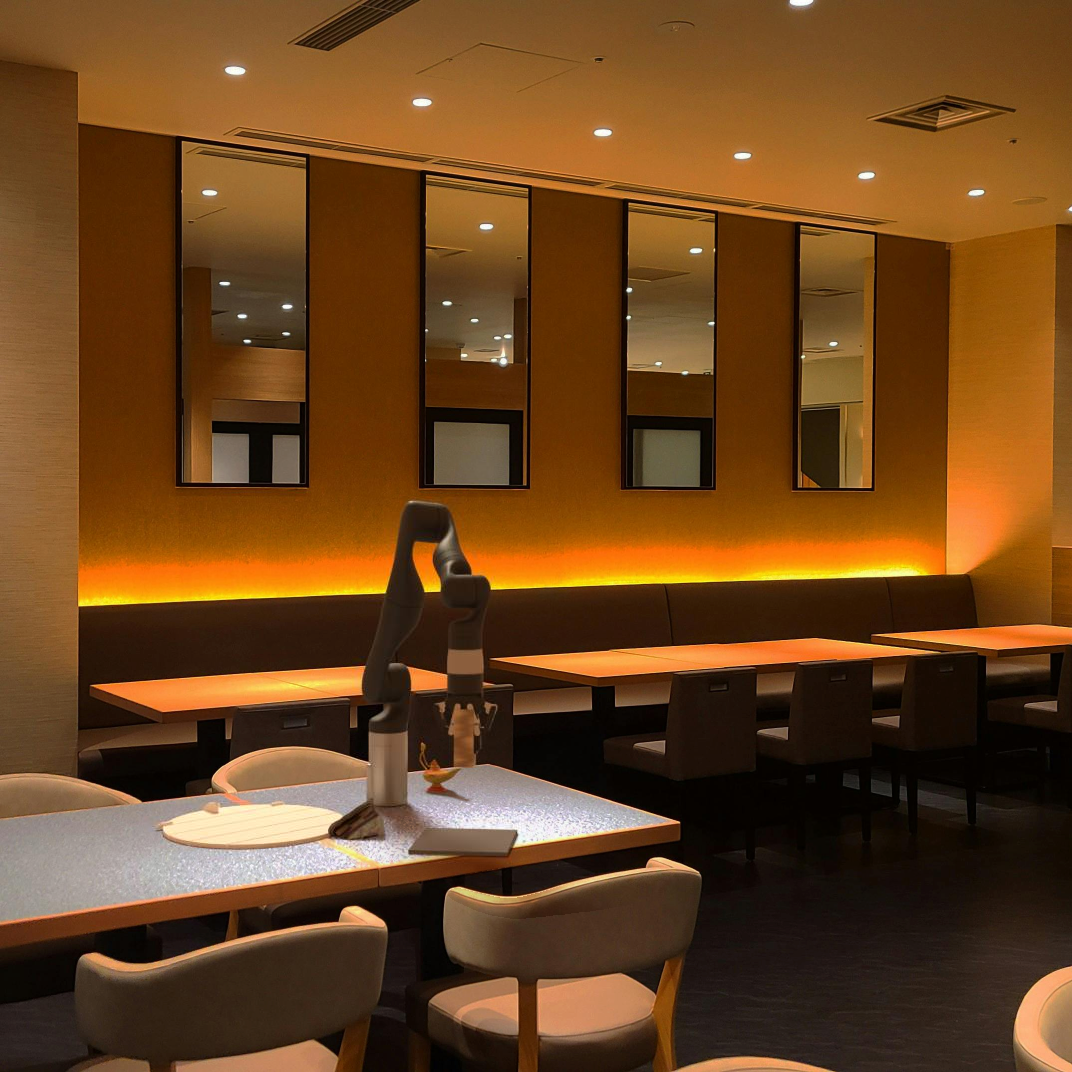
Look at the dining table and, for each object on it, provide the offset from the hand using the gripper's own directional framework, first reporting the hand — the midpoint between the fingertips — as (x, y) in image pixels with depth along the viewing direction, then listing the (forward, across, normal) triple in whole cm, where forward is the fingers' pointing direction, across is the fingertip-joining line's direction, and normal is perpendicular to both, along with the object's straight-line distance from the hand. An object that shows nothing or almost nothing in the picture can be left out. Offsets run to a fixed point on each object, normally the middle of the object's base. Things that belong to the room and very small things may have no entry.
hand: (465, 752), depth 272 cm
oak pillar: (+3, 0, 0) cm, 3 cm away
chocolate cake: (+19, -23, +5) cm, 31 cm away
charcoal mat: (+19, 0, 0) cm, 19 cm away
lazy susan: (+20, -48, +10) cm, 53 cm away
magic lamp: (+19, -14, +54) cm, 59 cm away
